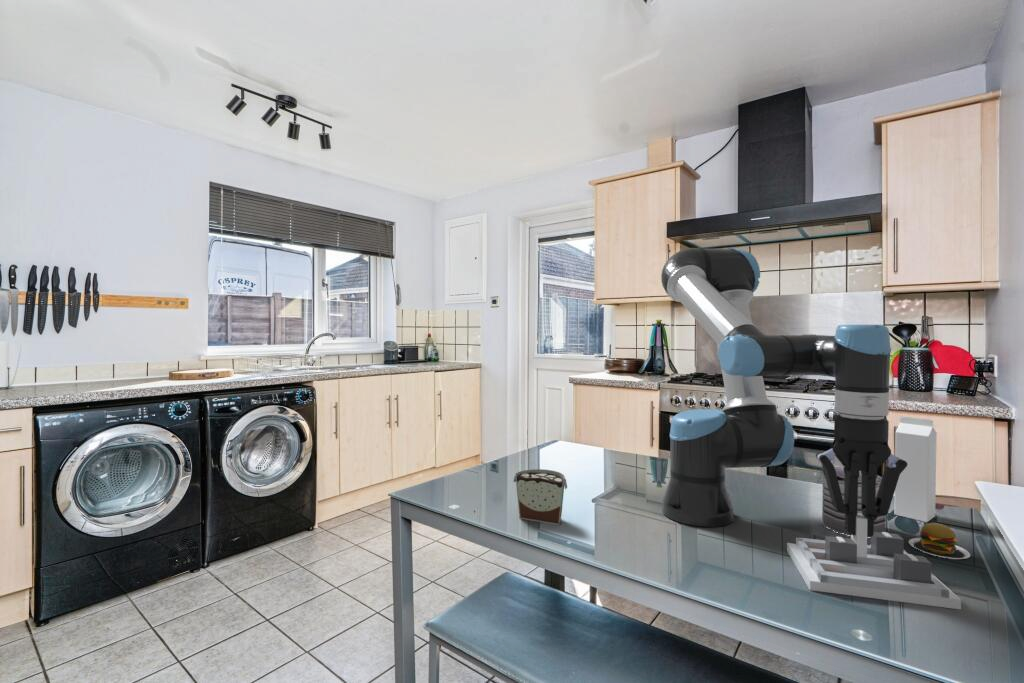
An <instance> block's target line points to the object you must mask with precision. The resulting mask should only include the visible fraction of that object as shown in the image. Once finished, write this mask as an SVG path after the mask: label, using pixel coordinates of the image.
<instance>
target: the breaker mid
mask: <svg viewBox="0 0 1024 683" xmlns="http://www.w3.org/2000/svg"><path fill="white" fill-rule="evenodd" d="M824 540H825V560H829V561H838V562H847V563H856V564H857V544H856V543H855V542H854V541H853V540H852V539H851V538H848V537H846V538H845V537H842V536H828V535H825V536H824Z"/></svg>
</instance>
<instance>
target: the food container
mask: <svg viewBox="0 0 1024 683" xmlns="http://www.w3.org/2000/svg"><path fill="white" fill-rule="evenodd" d="M513 477H514V478H513V483H515V484H516V485H515V486H516V495H517V496H516V497H517V507H518V515H519V520H526V521H533V522H538V523H545V524H550V525H556V526H560V525H561V522H562V514H563V513H562V511H563V502H564V495H565V494H564V493H565V490H567V489H568V482H567V479H566V477H565V475H564V473H562V472H559V471H556V470H551V469H542V468H541V469H540V468H539V469H537V468H535V469H526V470H519V471H518V472H515V474H514V476H513Z"/></svg>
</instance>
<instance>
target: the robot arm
mask: <svg viewBox="0 0 1024 683" xmlns="http://www.w3.org/2000/svg"><path fill="white" fill-rule="evenodd" d="M660 277H661V279H660V280H661V284H662V287H663V289H664V291H665V293H666V294H667V295H668V297H670V299H672V300H673V301H675V302H678V303H681V304H682V305H683V306H684V308H685V309H686V310H687V311H688V313H689V314H691V315H692V317H693V318H694V319H695V320H696V321H697V323H698V324H699V325H700V326H701V327H702V328H703V329H704V331H705V332H706V333H707V334H708V335H709V336H710V337H711V338H712V340H714V342H715V343H716V346H717V351H718V353H717V355H718V362H719V363H720V368H721V369H720V370H721V374H722V379H723V385H724V391H725V396H726V397H725V398H726V404H725V405H724V406H723V407H722V409H721V410H720V409H713V408H705V409H704V408H698V409H689V410H685V411H684V410H683V411H681V412H678V413H676V414H675V415H673V417H672V419H671V422H670V429H669V430H670V431H669V440H670V442H669V443H670V444H669V445H670V446H669V447H670V449H669V450H670V451H669V453H670V459H669V461H670V462H669V463H670V464H669V465H670V471H669V472H670V473H669V474H670V476H669V477H670V478H669V481H668V484H667V487H666V490H665V492H664V495H663V498H662V502H661V504H662V505H661V507H662V509H661V510H662V511H661V512H662V514H663V515H664V516H665V517H667V518H668V519H670V520H673V521H675V522H678V523H681V524H685V525H689V526H695V527H703V528H704V527H708V528H709V527H710V528H711V527H713V528H714V527H723V526H726V525H729V524H732V522H733V521H734V507H733V504H732V501H731V498H730V495H729V492H728V488H727V485H726V469H729V468H731V469H734V468H736V469H737V468H767V467H772V466H776V467H777V466H780V465H782V464H784V463H785V462H786V461H787V460H788V459H789V457H790V455H791V454H792V453H793V450H794V445H795V432H794V429H793V428H794V427H793V425H792V423H791V422H790V421H789V419H788V418H787V416H784V415H782V414H780V413H778V409H777V404H775V403H774V402H773V401H772V400H769V398H768V397H767V393H766V386H765V382H764V378H763V377H773V376H774V377H775V376H778V377H779V376H785V377H786V376H822V377H829V378H830V377H832V378H834V380H835V381H834V382H835V383H834V411H835V412H836V413H838V414H835V416H834V421H833V423H834V424H833V426H834V427H833V430H834V432H833V436H834V438H833V442H832V443H831V444H830V448H829V449H828V450H826V451H824V452H816V454H815V457H816V459H817V461H818V462H819V463H820V465H821V466H822V467H823V469H822V471H824V474H825V478H826V482H827V485H828V489H829V493H830V497H831V501H832V505H833V506H834V507H835V508H836V509H837V510H838V511H839V512H843V513H845V530H846V532H847V533H848V534H849V535H851V536H850V539H852V540H853V541H854V542H855V543H856V544H857V557H865V558H867V545H868V539H867V536H870V537H872V536H873V534H874V520H876V519H877V517H876V516H880V515H882V516H886V517H887V515H888V514H889V511H890V507H891V504H892V501H893V499H894V496H895V489H896V485H897V482H898V479H899V476H900V474H901V473H902V471H903V470H904V469H905V468H906V467H907V462H906V461H904V460H902V459H900V458H898V457H896V456H895V454H893V453H892V449H891V448H890V446H889V443H888V442H889V424H890V423H889V422H890V421H889V420H888V419H887V418H885V417H888V416H889V412H890V409H889V408H890V370H891V369H890V367H891V366H890V363H891V361H890V360H891V353H892V348H891V340H890V338H891V337H890V330H889V328H888V327H887V326H886V325H884V324H840V325H837V327H836V329H835V335H822V334H820V335H819V334H799V335H796V334H794V335H792V334H791V335H784V334H782V335H780V334H779V335H778V334H776V335H773V334H771V335H769V334H765V333H764V332H762V331H761V330H760V329H759V328H758V327H757V326H756V325H755V324H754V323H753V321H752V317H751V311H750V305H749V302H751V300H752V299H753V298H754V292H755V291H756V290H757V289H758V287H759V286H760V280H759V279H760V278H761V269H760V265H759V262H758V260H757V259H756V256H754V254H752V253H751V252H750V251H747V250H746V249H740V248H739V249H738V248H737V249H736V248H733V247H727V248H706V247H705V248H700V247H699V248H698V247H689V248H684V249H682V250H679V251H677V252H675V253H674V254H672V255H671V256H670V257H669V258H667V261H666V262H665V264H664V265H663V268H662V270H661V276H660ZM835 458H837V459H838V461H839V462H840V464H841V465H842V466H843V467H844V473H845V479H844V502H843V498H842V494H841V490H840V486H839V483H838V479H837V475H836V471H835V468H834V466H835V465H834V464H835V462H836V460H835ZM884 463H885V468H884V472H883V473H882V476H881V477H882V480H881V483H880V486H879V490H878V493H877V496H876V478H877V475H878V469H880V467H881V466H882V465H884ZM859 471H861V474H862V486H861V511H862V514H861V513H857V507H858V477H859ZM875 498H876V499H875Z"/></svg>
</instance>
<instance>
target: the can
mask: <svg viewBox="0 0 1024 683" xmlns="http://www.w3.org/2000/svg"><path fill="white" fill-rule="evenodd" d="M833 466H834V468H835V471H836V475H837V479H838V483H839V486H840V490H841V494H842V498H843V502H844V479H845V473H844V466H843V465H842V466H841V465H833ZM820 469H821V470H822V506H821V508H822V509H821V510H822V512H821V514H822V517H821V521H823V522H822V526H823V527H824V526H825V527H824V528H826V527H828V528H830V529H831V530H830V529H829V530H830V531H832V530H834V531H835V532H834V531H833V532H834V533H836V532H838V533H837V534H839V533H844V534H847V535H849V534H848V533H847V532H846V530H845V513H843V512H839V511H838V510H837V509H836V508H835V507H834V506H833V505H832V501H831V497H830V493H829V489H828V485H827V482H826V478H825V474H824V470H823V466H822V467H820ZM882 477H883V476H880V475H878V474H877V478H876V496H877V493H878V490H879V486H880V483H881V480H882ZM861 486H862V474H861V471H859V477H858V507H857V513H861V514H862V511H861ZM875 499H876V498H875ZM876 517H877V519H876V520H874V532H880V533H882V532H886V530H887V528H886V525H887V524H886V523H887V515H886V516H882V515H880V516H876ZM828 528H827V529H828ZM847 535H846V536H847ZM867 537H870V536H867Z"/></svg>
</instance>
